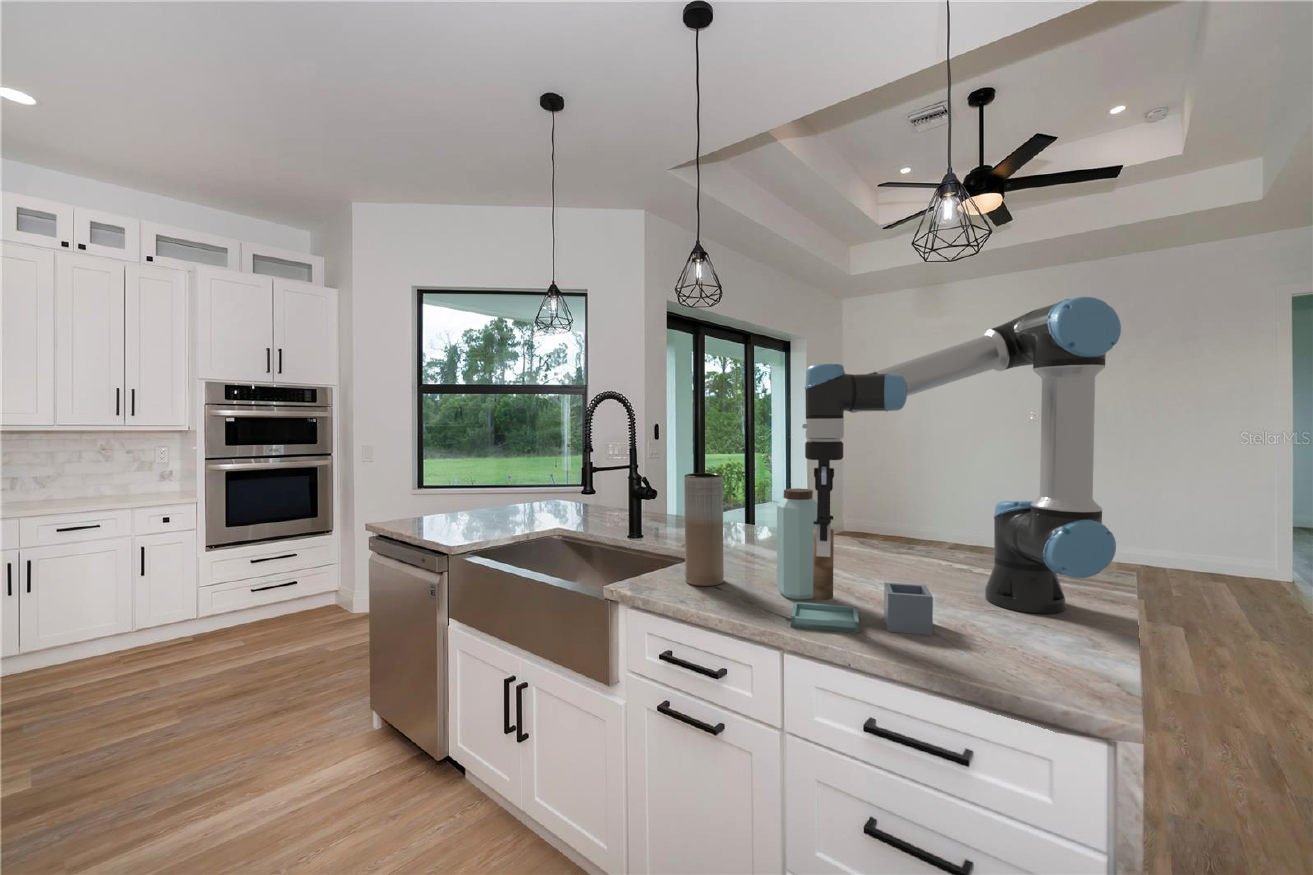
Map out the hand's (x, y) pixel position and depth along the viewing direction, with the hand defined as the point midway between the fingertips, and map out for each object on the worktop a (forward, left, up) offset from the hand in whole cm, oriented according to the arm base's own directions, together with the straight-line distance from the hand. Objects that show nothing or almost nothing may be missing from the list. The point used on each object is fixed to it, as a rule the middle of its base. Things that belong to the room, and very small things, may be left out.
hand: (823, 553), depth 118 cm
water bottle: (+6, -18, -14) cm, 23 cm away
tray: (0, 0, -14) cm, 14 cm away
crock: (-16, -2, -14) cm, 22 cm away
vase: (+30, -23, -14) cm, 40 cm away
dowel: (0, 0, -9) cm, 9 cm away
